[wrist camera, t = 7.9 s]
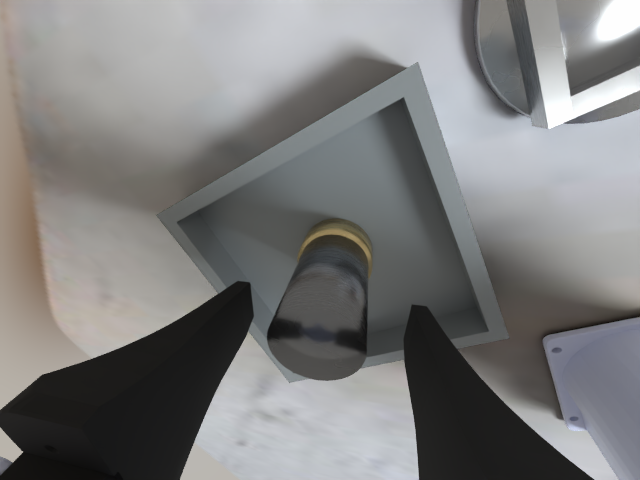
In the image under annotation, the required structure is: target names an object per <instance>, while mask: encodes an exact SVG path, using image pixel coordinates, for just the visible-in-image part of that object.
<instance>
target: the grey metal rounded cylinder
mask: <svg viewBox="0 0 640 480" xmlns="http://www.w3.org/2000/svg"><path fill="white" fill-rule="evenodd" d="M372 265H373V264H372V244H371V240H370V238H369V236H368V235H367V233H366V232H365V231H364V230H363V229H362V228H361V227H360V226H359V225H357V224H355V223H354V222H351V221H349V220H345V219H340V218H333V219H327V220H323V221H321V222H319V223H317V224H316V225H314V226H313V227H312V228H311V229H310V230H309V232H308V233H307V235H306V237H305V239H304V241H303V243H302V245H301V247H300V250H299V252H298V257H297V266H296V268H295V270H294V272H293V274H292V277H291V279H290V281H289V283H288V286H287V288H286V290H285V292H284V295H283V297H282V299H281V301H280V303H279V306H278V308H277V310H276V312H275V315H274V317H273V319H272V321H271V323H270V326H269V328H268V331H267V343H268V346H269V349H270V351H271V353H272V354H273V356H274V357H275V358H276V359H277V361H278V362H280V363H281V364H282V365H283V366H284V367H286V368H287V369H289V370H290V371H292V372H294V373H296V374H298V375H301V376H303V377H306V378H310V379H315V380H325V381H328V380H338V379H342V378H345V377H348V376H350V375H352V374H354V373H355V372H357V371H358V370H359V369H360V368H361V367H362V365H363V364H364V362H365V360H366V356H367V321H368V280H369V278H370V276H371V273H372Z"/></svg>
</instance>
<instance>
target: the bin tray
mask: <svg viewBox="0 0 640 480" xmlns="http://www.w3.org/2000/svg"><path fill="white" fill-rule="evenodd" d="M156 216H157V217H158V218H159V219H160V221H161V222H162V223H163V224H164V226H165V227H166V228H167V230H168V231H169V232H170V233H171V235H172V236H173V237H174V238H175V240H176V241H177V242H178V243H179V245H180V246H181V247H182V248H183V250H184V251H185V252H186V253H187V255H188V256H189V257H190V258H191V260H192V261H193V262H194V263H195V265H196V266H197V267H198V268H199V270H200V271H201V272H202V273H203V275H204V276H205V277H206V279H207V280H208V281H209V282H210V284H211V285H212V286H213V287H214V289H215V290H216V291H217V292H218V294H219V293H220V292H222V291H223V290H225V289H226V288H228V287H229V286H230V285H232V284H233V283H235V282H237V281H244V282H250V284H251V293H252V302H253V311H254V318H253V320H252V323H251V325H250V328H249V330H248V331H249V333H250V334H251V335H252V336H253V338H254V339H255V340H256V341H257V343H258V344H259V345H260V346H261V348H262V349H263V350H264V351H265V353H266V354H267V355H268V356H269V358H270V359H271V360H272V361H273V363H274V364H275V365H276V366H277V368H278V369H279V370H280V372H281V373H282V374H283V375H284V377H285V378H286V379H287V380H288V382H289V383H290V382H295V381H300V380H305V379H310V378H306V377H303V376H301V375H298V374H296V373H294V372H292V371H290V370H289V369H287V368H286V367H284V366H283V365H282V364H281V363H280V362H278V361H277V359H276V358H275V357H274V356H273V354H272V353H271V351H270V349H269V346H268V343H267V331H268V328H269V326H270V323H271V321H272V319H273V317H274V315H275V312H276V310H277V308H278V306H279V303H280V301H281V299H282V297H283V295H284V292H285V290H286V288H287V286H288V283H289V281H290V279H291V277H292V274H293V272H294V270H295V268H296V266H297V257H298V252H299V250H300V247H301V245H302V243H303V241H304V239H305V237H306V235H307V233H308V232H309V230H310V229H311V228H312V227H313V226H314V225H316V224H317V223H319V222H321V221H323V220H327V219H333V218H340V219H345V220H349V221H351V222H354V223H355V224H357V225H359V226H360V227H361V228H362V229H363V230H364V231H365V232H366V233H367V235H368V236H369V238H370V240H371V244H372V264H373V265H372V273H371V276H370V278H369V280H368V321H367V356H366V360H365V362H364V364H363V365H362V367H361V368H365V367H370V366H375V365H380V364H385V363H390V362H395V361H400V360H404V341H403V339H404V334H405V330H406V326H407V322H408V318H409V314H410V310H411V306H412V304H413V305H421V306H427V307H428V308H429V310H430V311H431V313H432V314H433V316H434V317H435V319H436V320H437V322H438V323H439V325H440V326H441V328H442V329H443V331H444V332H445V333H446V335H447V336H448V338H449V339H450V340H451V342H452V343H453V344H454V346H455V347H456V348H457V349H460V348H465V347H469V346H474V345H479V344H484V343H489V342H494V341H499V340H504V339H509V335H508V332H507V329H506V326H505V323H504V320H503V317H502V314H501V311H500V308H499V305H498V302H497V299H496V296H495V293H494V290H493V287H492V284H491V281H490V278H489V275H488V272H487V269H486V266H485V263H484V260H483V257H482V254H481V251H480V247H479V244H478V241H477V238H476V235H475V232H474V229H473V226H472V223H471V220H470V217H469V214H468V211H467V208H466V205H465V202H464V199H463V196H462V193H461V190H460V187H459V184H458V181H457V178H456V175H455V172H454V169H453V166H452V163H451V160H450V157H449V154H448V151H447V148H446V145H445V142H444V139H443V136H442V133H441V130H440V127H439V124H438V121H437V118H436V115H435V112H434V109H433V106H432V103H431V100H430V97H429V94H428V91H427V88H426V85H425V82H424V79H423V76H422V73H421V70H420V67H419V64H418V62H417V63H415V64H414V65H412V66H410V67H408V68H407V69H405V70H403V71H402V72H400V73H398V74H396V75H395V76H393V77H391V78H390V79H388V80H386V81H384V82H383V83H381V84H379V85H378V86H376V87H374V88H373V89H371V90H369V91H367V92H366V93H364V94H362V95H361V96H359V97H357V98H355V99H354V100H352V101H350V102H349V103H347V104H345V105H344V106H342V107H340V108H338V109H337V110H335V111H333V112H332V113H330V114H328V115H326V116H325V117H323V118H321V119H320V120H318V121H316V122H314V123H313V124H311V125H309V126H308V127H306V128H304V129H303V130H301V131H299V132H297V133H296V134H294V135H292V136H291V137H289V138H287V139H285V140H284V141H282V142H280V143H279V144H277V145H275V146H274V147H272V148H270V149H268V150H267V151H265V152H263V153H262V154H260V155H258V156H256V157H255V158H253V159H251V160H250V161H248V162H246V163H245V164H243V165H241V166H239V167H238V168H236V169H234V170H233V171H231V172H229V173H227V174H226V175H224V176H222V177H221V178H219V179H217V180H215V181H214V182H212V183H210V184H209V185H207V186H205V187H204V188H202V189H200V190H198V191H197V192H195V193H193V194H192V195H190V196H188V197H186V198H185V199H183V200H181V201H180V202H178V203H176V204H175V205H173V206H171V207H169V208H168V209H166V210H164V211H163V212H161V213H159V214H157V215H156Z"/></svg>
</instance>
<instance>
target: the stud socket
mask: <svg viewBox="0 0 640 480" xmlns="http://www.w3.org/2000/svg"><path fill="white" fill-rule="evenodd" d="M474 36H475V47H476V52H477V57H478V61H479V64H480V67H481V70H482V73H483V75H484V77H485V79H486V80H487V82H488V84H489V86H490V87H491V89H492V90H493V91H494V93H495V94H496V95H497V96H498V97H499V98H500V99H501V100H502V101H503V102H504V103H505V104H506V105H508V106H509V107H511V108H512V109H514V110H515V111H517V112H519V113H521V114H523V115H526V116H528V117H530V118H531V121H532V126H535V127H541V128H546V129H550V128H552V127H555V126H557V125H559V124H562V123H565V124H575V123H589V122H596V121H602V120H606V119H610V118H614V117H618V116H621V115H624V114H627V113H630V112H632V111H635V110H638V109H640V0H476V5H475V18H474Z"/></svg>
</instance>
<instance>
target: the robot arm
mask: <svg viewBox="0 0 640 480" xmlns="http://www.w3.org/2000/svg"><path fill="white" fill-rule="evenodd" d="M253 318H254V311H253V302H252V293H251V284H250V282H244V281H237V282H235V283H233V284H232V285H230V286H229V287H228V288H226V289H225V290H223V291H222V292H220V293H219V294H217V295H216V296H214V297H213V298H211V299H210V300H208V301H207V302H205V303H204V304H203V305H201V306H199V307H198V308H196V309H195V310H193V311H191V312H190V313H188V314H186V315H185V316H183V317H182V318H180V319H178V320H177V321H175V322H173V323H171V324H169V325H168V326H166V327H164V328H162V329H160V330H158V331H156V332H154V333H152V334H150V335H148V336H146V337H144V338H141V339H139V340H137V341H135V342H133V343H130V344H128V345H126V346H124V347H121V348H119V349H116V350H114V351H111V352H109V353H106V354H104V355H101V356H98V357H96V358H93V359H91V360H87V361H85V362H82V363H79V364H76V365H72V366H69V367H66V368H63V369H60V370H57V371H53V372H50V373H47V374H44V375H42V376H40V377H39V378H38V379H37V380H36V381H34V382H33V383H32V384H31V385H30V386H28V387H27V388H26V389H25V390H24V391H22V392H21V393H20V394H19V395H18V396H17V397H15V398H14V399H13V400H12V401H10V402H9V403H8V404H7V405H6V406H4V407H3V408H2V409H1V410H0V427H1V428H2V430H3V431H4V432H5V433H6V434H7V435H8V436H9V437H10V438H11V440H12V441H13V442H14V443H15V444H16V445H17V446H18V447H19V448H20V449H21V450H22V451H23V453H22V454H21V455H20V456H19V457H18V458H17V459H16V460H15V461H14V462H13V463H12V462H11V461H9V460H7V459H5V458H3V457H0V480H180V477H181V474H182V472H183V469H184V466H185V464H186V461H187V458H188V456H189V454H190V451H191V448H192V446H193V443H194V441H195V438H196V436H197V434H198V431H199V429H200V426H201V424H202V422H203V419H204V417H205V414H206V412H207V410H208V408H209V405H210V403H211V401H212V399H213V396H214V394H215V392H216V390H217V388H218V386H219V384H220V382H221V380H222V378H223V376H224V375H225V373H226V371H227V369H228V368H229V366H230V364H231V362H232V360H233V359H234V357H235V355H236V353H237V352H238V350H239V348H240V346H241V344H242V343H243V341H244V339H245V337H246V335H247V333H248V330H249V328H250V325H251V323H252V320H253ZM403 341H404V361H405V368H406V374H407V380H408V386H409V392H410V397H411V403H412V409H413V415H414V422H415V429H416V441H417V454H418V468H419V480H594V479H593V478H591V477H590V476H589V475H587V474H586V473H585V472H584V471H582V470H581V469H580V468H578V467H577V466H576V465H575V464H573V463H572V462H571V461H569V460H568V459H567V458H566V457H564V456H563V455H562V454H561V453H560V452H558V451H557V450H556V449H555V448H554V447H553V446H551V445H550V444H549V443H548V442H547V441H545V440H544V439H543V438H542V437H541V436H540V435H538V434H537V433H536V432H535V431H534V430H533V429H532V428H531V427H529V426H528V425H527V424H526V423H525V422H524V421H523V420H522V419H521V418H520V417H519V416H518V415H517V414H515V413H514V412H513V411H512V410H511V409H510V408H509V407H508V406H507V405H506V404H505V403H504V402H503V401H502V400H501V399H500V398H499V397H498V396H497V395H496V394H495V393H494V392H493V391H492V390H491V389H490V388H489V386H488V385H487V384H486V383H485V382H484V381H483V380H482V379H481V378H480V377H479V376H478V374H477V373H476V372H475V371H474V370H473V369H472V367H471V366H470V365H469V364H468V362H467V361H466V360H465V359H464V358H463V356H462V355H461V354H460V352H459V351H458V350H457V348H456V347H455V346H454V344H453V343H452V342H451V340H450V339H449V338H448V336H447V335H446V333H445V332H444V331H443V329H442V328H441V326H440V325H439V323H438V322H437V320H436V319H435V317H434V316H433V314H432V313H431V311H430V310H429V308H428V307H427V306H421V305H413V304H412V306H411V310H410V314H409V318H408V322H407V326H406V330H405V334H404V339H403ZM543 346H544V349H545V353H546V356H547V360H548V364H549V367H550V371H551V375H552V378H553V382H554V386H555V389H556V393H557V397H558V400H559V404H560V408H561V411H562V415H563V419H564V422H565V424H566V426H567V428H568V429H570V430H572V431H581V430H587V431H588V433H589V434H590V436H591V437H592V439H593V440H594V442H595V444H596V445H597V447H598V448H599V450H600V451H601V453H602V454H603V456H604V457H605V459H606V461H607V462H608V464H609V465H610V467H611V468H612V470H613V471H614V473H615V474H616V476H617V478H618V479H619V480H640V317H637V318H632V319H627V320H622V321H617V322H612V323H607V324H601V325H596V326H591V327H586V328H581V329H576V330H571V331H566V332H561V333H556V334H550V335H547V336H546V337H544V339H543Z"/></svg>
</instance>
